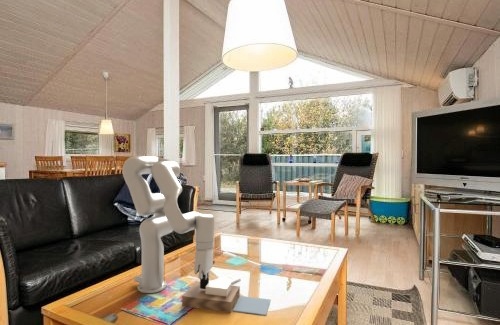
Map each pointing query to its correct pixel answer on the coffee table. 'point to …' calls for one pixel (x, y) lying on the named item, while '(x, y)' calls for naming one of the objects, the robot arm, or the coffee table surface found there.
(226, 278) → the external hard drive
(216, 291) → the white rectangular block
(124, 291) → the coffee table surface
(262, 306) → the mat
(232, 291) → the block
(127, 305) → the coffee table surface
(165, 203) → the robot arm
